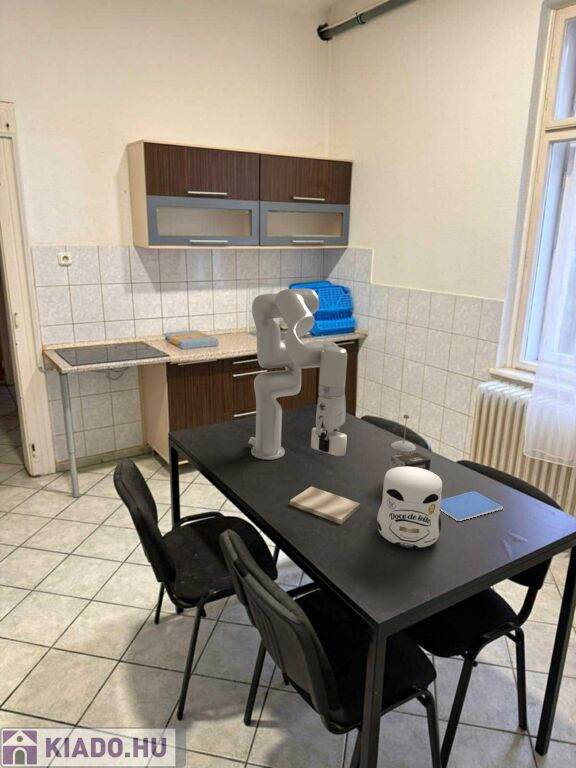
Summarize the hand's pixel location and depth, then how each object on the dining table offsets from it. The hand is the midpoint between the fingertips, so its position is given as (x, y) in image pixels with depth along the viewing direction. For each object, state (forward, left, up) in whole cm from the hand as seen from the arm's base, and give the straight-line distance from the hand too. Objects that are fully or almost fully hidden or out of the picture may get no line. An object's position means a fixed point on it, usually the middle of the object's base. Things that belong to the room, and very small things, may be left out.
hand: (328, 447), depth 160 cm
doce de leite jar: (+27, 0, -20) cm, 34 cm away
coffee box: (+20, +17, -20) cm, 33 cm away
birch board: (0, 0, -19) cm, 19 cm away
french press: (+12, +30, -20) cm, 38 cm away
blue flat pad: (+35, +28, -20) cm, 49 cm away
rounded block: (0, 0, -1) cm, 1 cm away
